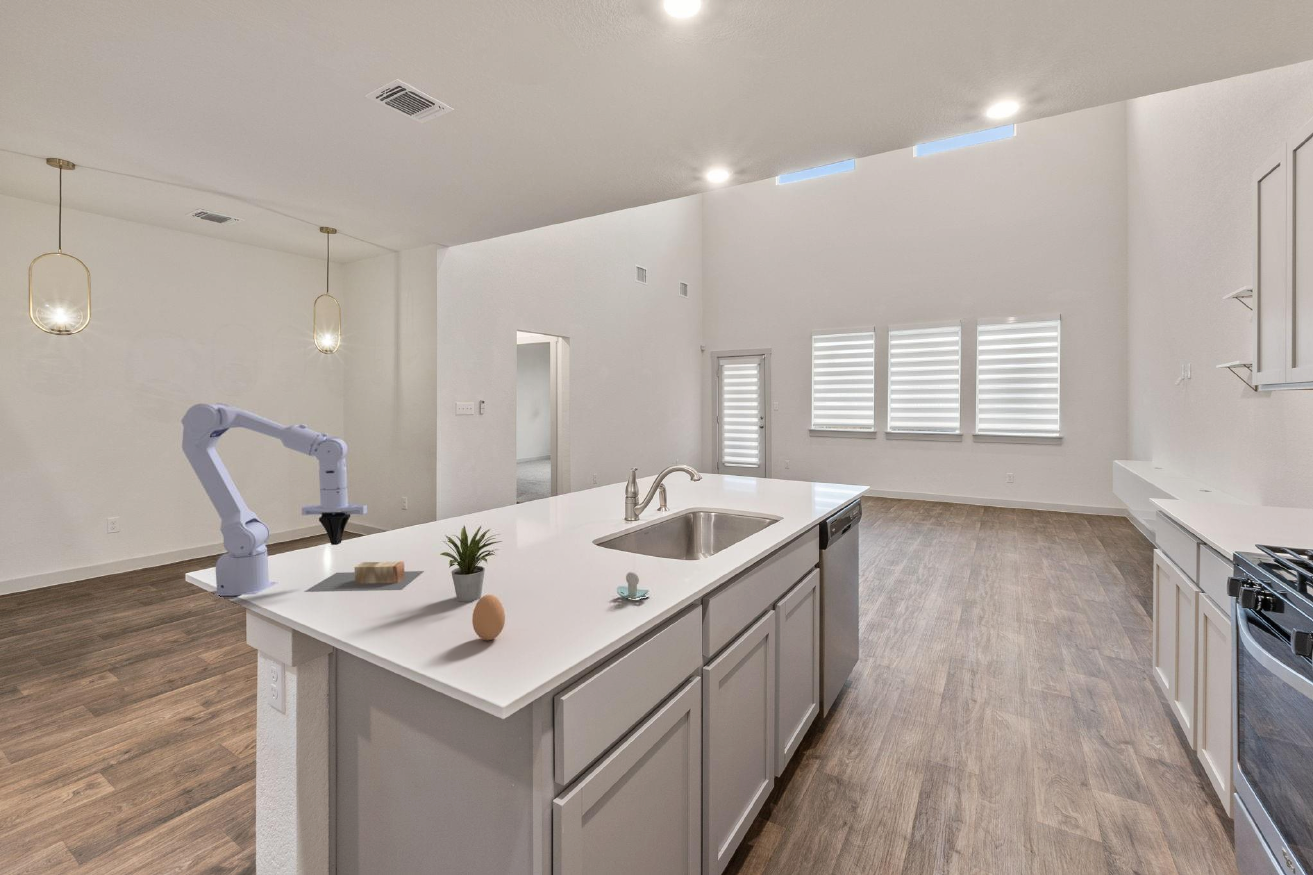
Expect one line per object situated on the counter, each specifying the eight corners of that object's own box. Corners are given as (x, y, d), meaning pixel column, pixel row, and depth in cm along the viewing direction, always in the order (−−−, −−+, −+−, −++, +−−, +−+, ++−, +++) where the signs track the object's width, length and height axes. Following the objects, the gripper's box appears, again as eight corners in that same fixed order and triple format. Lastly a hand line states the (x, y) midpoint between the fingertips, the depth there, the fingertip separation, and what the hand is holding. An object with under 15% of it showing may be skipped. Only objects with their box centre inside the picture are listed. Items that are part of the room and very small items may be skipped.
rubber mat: (304, 593, 129) (304, 591, 129) (336, 574, 143) (336, 572, 143) (401, 591, 130) (401, 589, 129) (424, 572, 143) (424, 571, 143)
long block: (354, 567, 134) (397, 566, 134) (362, 562, 138) (404, 561, 138) (355, 583, 134) (397, 582, 134) (363, 578, 138) (404, 577, 138)
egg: (511, 638, 104) (510, 594, 103) (483, 649, 99) (482, 603, 99) (494, 630, 108) (493, 587, 107) (466, 639, 103) (465, 595, 103)
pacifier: (625, 592, 129) (613, 600, 124) (626, 565, 129) (613, 571, 123) (655, 596, 126) (643, 604, 121) (655, 568, 126) (644, 575, 120)
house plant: (480, 613, 116) (478, 535, 115) (420, 609, 119) (417, 533, 117) (512, 590, 130) (510, 520, 129) (457, 587, 132) (455, 518, 131)
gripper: (372, 485, 139) (374, 539, 140) (312, 485, 139) (315, 540, 140) (357, 489, 132) (360, 546, 133) (295, 490, 132) (298, 547, 133)
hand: (336, 543), depth 136 cm, fingers closed
